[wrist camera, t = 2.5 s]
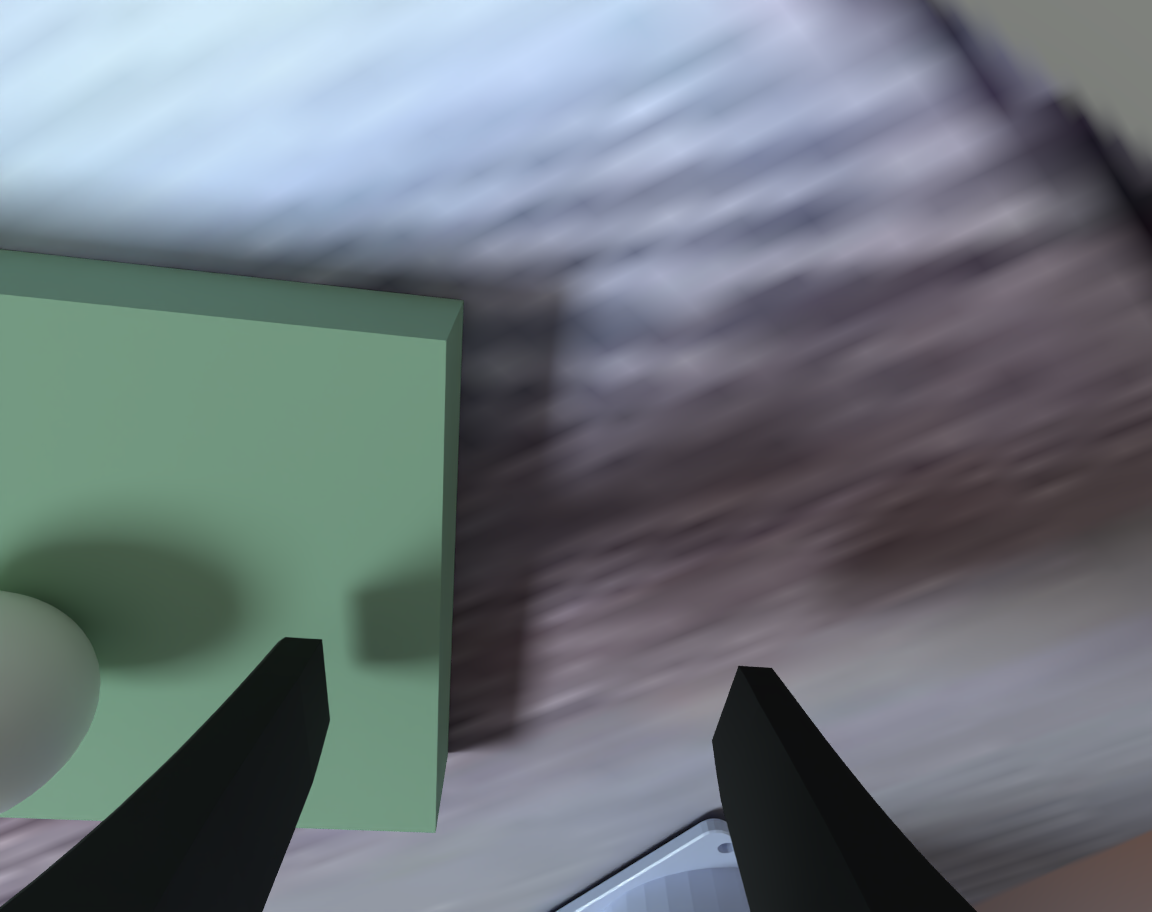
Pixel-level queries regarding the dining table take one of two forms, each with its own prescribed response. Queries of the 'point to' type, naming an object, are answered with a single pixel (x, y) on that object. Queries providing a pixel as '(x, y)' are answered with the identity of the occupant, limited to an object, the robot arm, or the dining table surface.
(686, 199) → the dining table surface
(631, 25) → the dining table surface
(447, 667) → the putting mat
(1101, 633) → the dining table surface
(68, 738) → the golf ball
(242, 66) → the dining table surface
